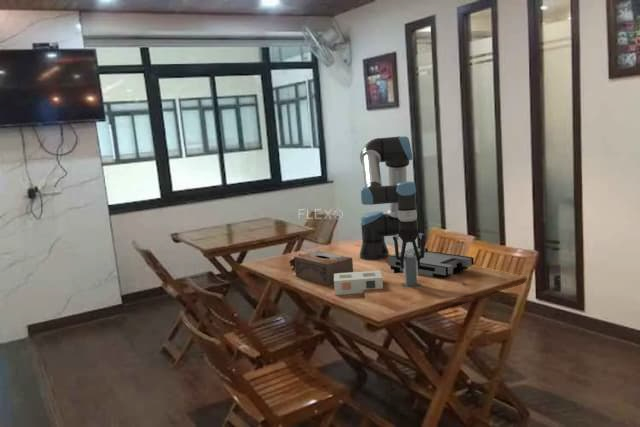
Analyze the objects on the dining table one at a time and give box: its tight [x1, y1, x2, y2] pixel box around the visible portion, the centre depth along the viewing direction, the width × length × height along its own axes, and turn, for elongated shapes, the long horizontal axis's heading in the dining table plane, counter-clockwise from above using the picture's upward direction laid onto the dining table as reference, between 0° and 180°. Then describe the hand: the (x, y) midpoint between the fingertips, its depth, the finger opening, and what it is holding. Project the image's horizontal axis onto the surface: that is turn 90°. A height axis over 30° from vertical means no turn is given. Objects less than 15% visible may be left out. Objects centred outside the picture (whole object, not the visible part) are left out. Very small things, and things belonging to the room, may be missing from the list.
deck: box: [400, 281, 423, 289], centre depth 231 cm, size 8×8×2 cm
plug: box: [404, 253, 418, 287], centre depth 230 cm, size 4×4×13 cm
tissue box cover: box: [293, 250, 354, 287], centre depth 259 cm, size 26×14×10 cm, turn 37°
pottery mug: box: [288, 253, 302, 268], centre depth 281 cm, size 12×10×8 cm
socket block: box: [333, 269, 384, 296], centre depth 236 cm, size 12×20×6 cm, turn 89°
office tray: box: [387, 246, 475, 279], centre depth 253 cm, size 21×32×8 cm, turn 42°
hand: (410, 275), depth 231 cm, fingers open, 4 cm apart
